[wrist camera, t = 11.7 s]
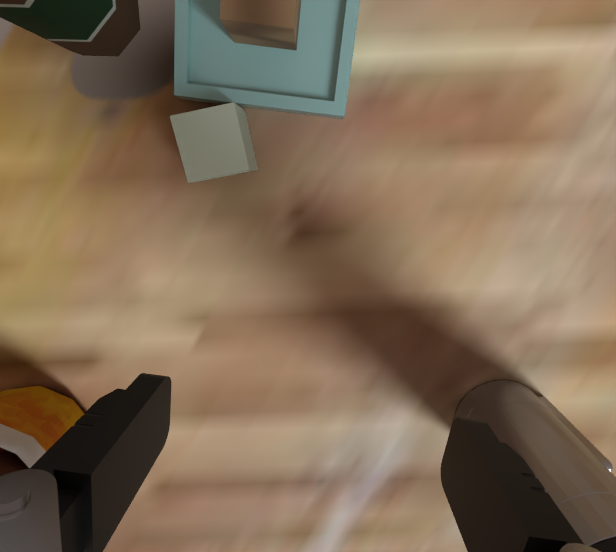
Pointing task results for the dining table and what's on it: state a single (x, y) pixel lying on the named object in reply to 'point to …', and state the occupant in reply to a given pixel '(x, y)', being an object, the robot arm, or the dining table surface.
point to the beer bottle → (78, 23)
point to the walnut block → (262, 22)
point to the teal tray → (267, 60)
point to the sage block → (214, 142)
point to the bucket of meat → (32, 424)
